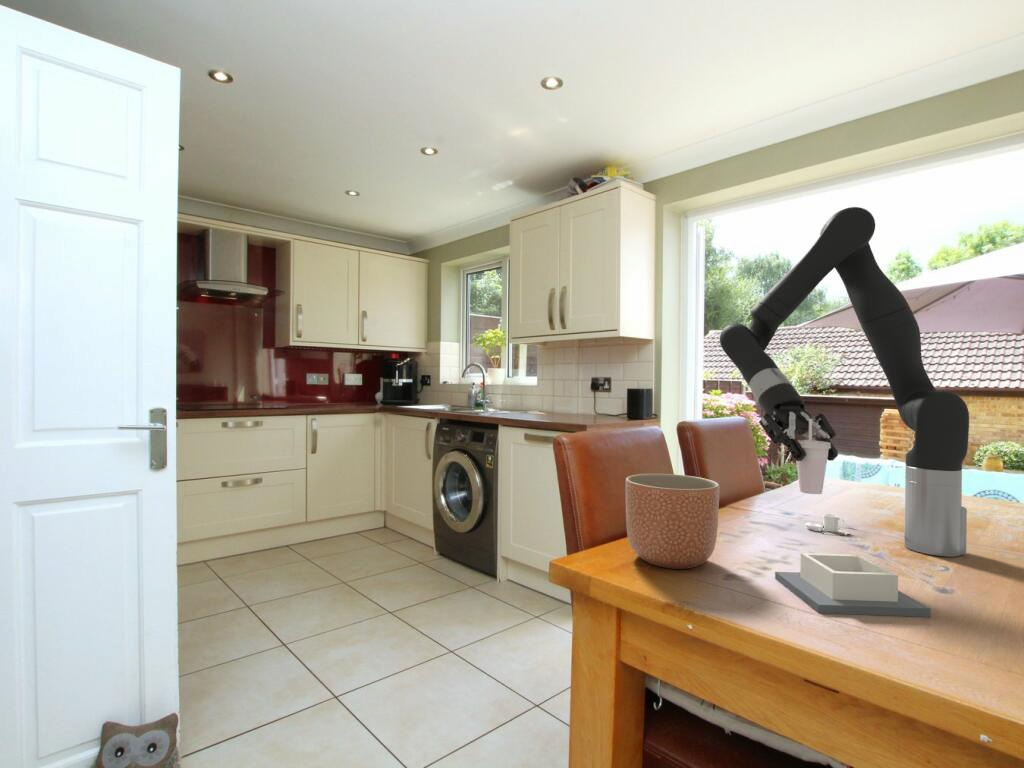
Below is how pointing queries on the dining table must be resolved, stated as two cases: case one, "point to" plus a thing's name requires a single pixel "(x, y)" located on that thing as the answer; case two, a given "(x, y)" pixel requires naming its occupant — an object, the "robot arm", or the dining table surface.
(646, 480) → the planter
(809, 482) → the smoothie
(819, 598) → the socket board
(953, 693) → the dining table surface
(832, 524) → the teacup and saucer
